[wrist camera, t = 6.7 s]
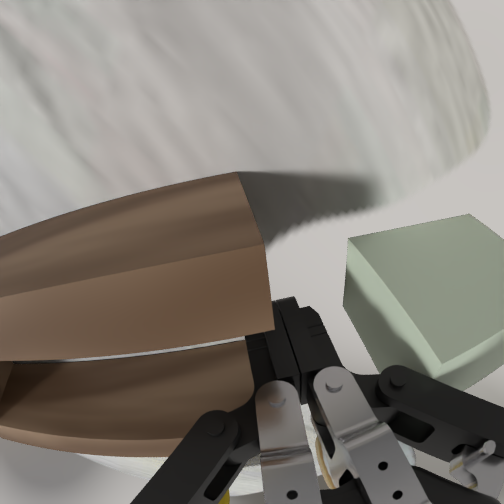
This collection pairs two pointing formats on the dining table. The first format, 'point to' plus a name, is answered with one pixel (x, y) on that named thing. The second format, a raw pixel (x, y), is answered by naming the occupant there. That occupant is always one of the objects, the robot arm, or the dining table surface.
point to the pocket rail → (131, 318)
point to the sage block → (430, 298)
